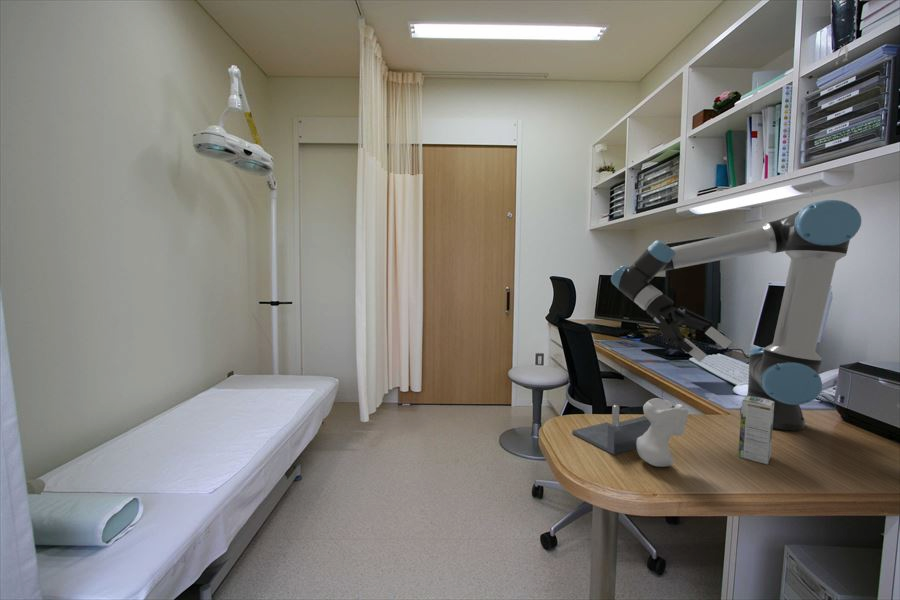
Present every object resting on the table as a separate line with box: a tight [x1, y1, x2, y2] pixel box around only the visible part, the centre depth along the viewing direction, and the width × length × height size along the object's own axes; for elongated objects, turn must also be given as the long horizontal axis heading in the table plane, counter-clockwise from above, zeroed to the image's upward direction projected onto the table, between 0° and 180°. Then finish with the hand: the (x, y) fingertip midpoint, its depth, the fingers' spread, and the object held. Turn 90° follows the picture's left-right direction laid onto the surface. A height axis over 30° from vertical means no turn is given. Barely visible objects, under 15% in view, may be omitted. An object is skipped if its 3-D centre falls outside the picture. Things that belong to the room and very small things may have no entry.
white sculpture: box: [636, 397, 689, 468], centre depth 85 cm, size 10×11×15 cm
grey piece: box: [571, 404, 651, 456], centre depth 99 cm, size 14×14×12 cm
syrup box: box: [737, 395, 774, 465], centre depth 89 cm, size 6×6×14 cm
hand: (716, 352), depth 101 cm, fingers open, 13 cm apart
